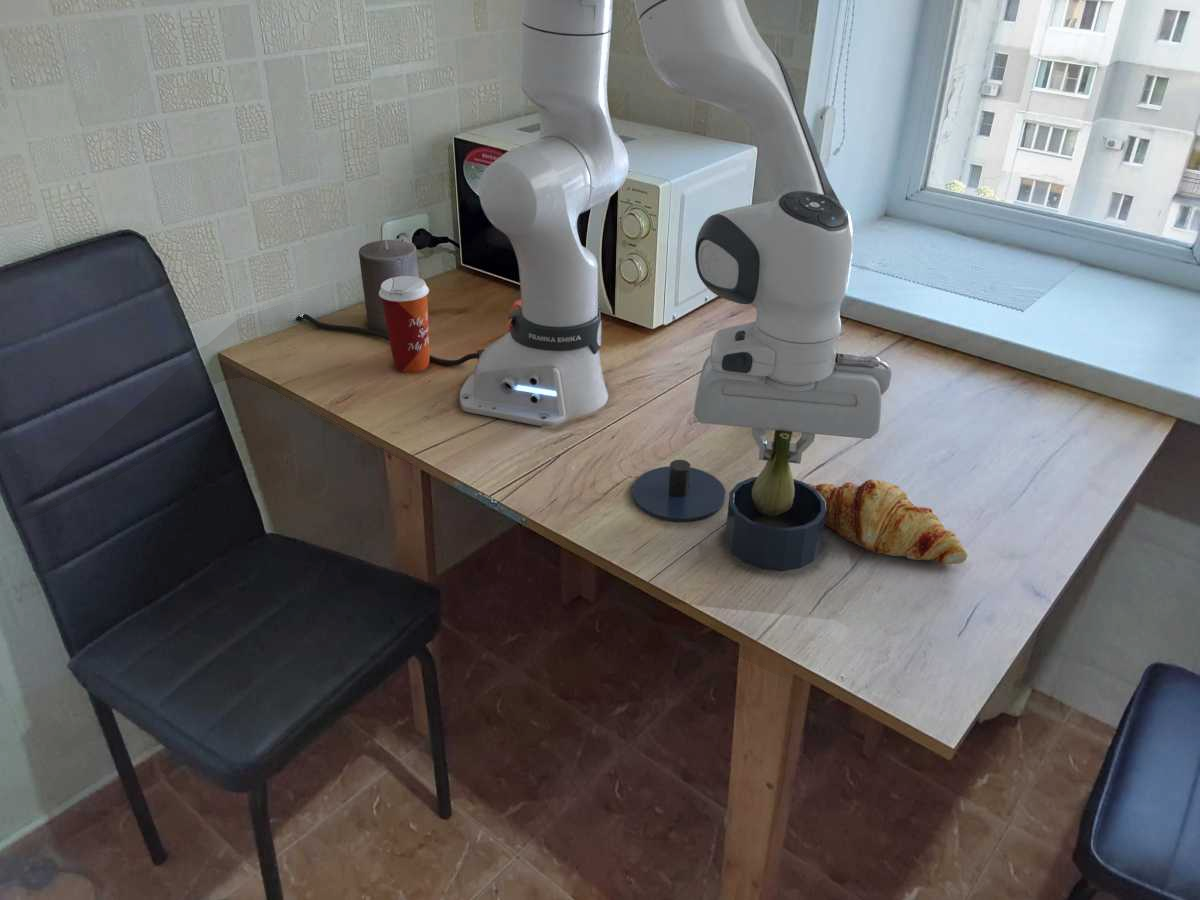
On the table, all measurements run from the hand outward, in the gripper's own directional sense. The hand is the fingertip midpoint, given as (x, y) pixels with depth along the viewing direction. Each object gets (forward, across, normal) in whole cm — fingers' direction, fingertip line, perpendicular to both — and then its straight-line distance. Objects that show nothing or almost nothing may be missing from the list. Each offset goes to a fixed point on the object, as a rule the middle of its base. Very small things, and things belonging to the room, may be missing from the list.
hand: (779, 459), depth 110 cm
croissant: (+12, -13, -3) cm, 18 cm away
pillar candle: (+14, +66, -54) cm, 86 cm away
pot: (+12, 0, 0) cm, 12 cm away
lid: (+12, +12, -8) cm, 18 cm away
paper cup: (+13, +58, -39) cm, 71 cm away
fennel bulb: (+7, 0, 0) cm, 7 cm away
